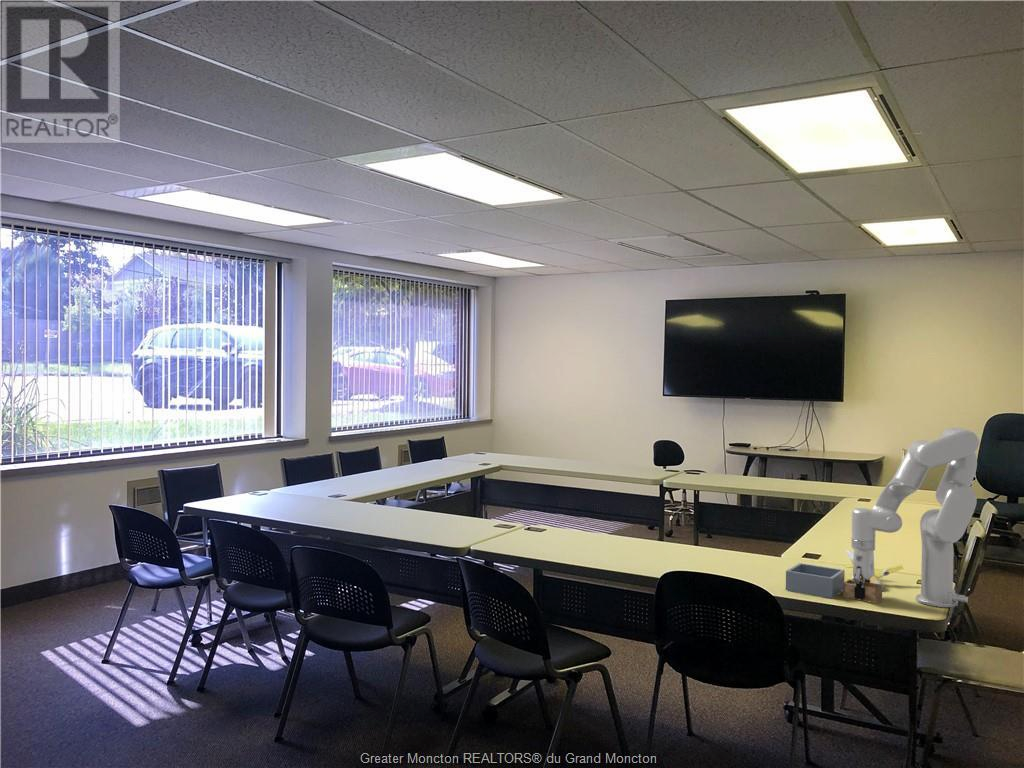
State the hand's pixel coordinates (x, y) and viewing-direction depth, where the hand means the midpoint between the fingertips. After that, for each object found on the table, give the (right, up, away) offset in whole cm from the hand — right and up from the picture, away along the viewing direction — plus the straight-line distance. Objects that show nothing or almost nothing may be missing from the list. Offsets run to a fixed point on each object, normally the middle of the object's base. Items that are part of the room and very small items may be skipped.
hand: (862, 595), depth 269 cm
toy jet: (+10, -1, +22) cm, 24 cm away
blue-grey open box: (-13, -1, +10) cm, 16 cm away
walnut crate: (0, -1, 0) cm, 1 cm away
